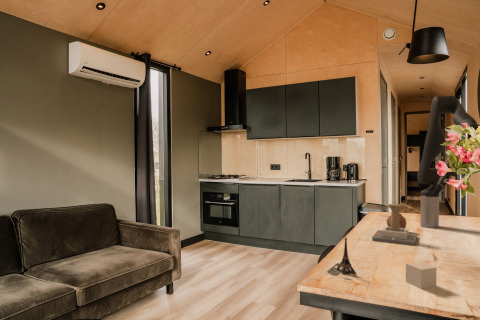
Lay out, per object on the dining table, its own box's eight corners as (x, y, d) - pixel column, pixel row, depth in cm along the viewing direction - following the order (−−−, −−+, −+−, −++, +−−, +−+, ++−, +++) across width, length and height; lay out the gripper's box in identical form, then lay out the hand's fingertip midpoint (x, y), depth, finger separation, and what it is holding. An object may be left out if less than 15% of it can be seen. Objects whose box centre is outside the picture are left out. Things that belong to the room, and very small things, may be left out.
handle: (400, 237, 159) (400, 206, 158) (386, 235, 163) (386, 204, 163) (403, 235, 162) (403, 204, 162) (389, 233, 166) (390, 203, 166)
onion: (402, 229, 183) (402, 211, 183) (409, 233, 173) (409, 214, 173) (384, 229, 184) (384, 211, 184) (390, 233, 174) (390, 214, 174)
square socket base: (377, 233, 175) (377, 224, 175) (416, 237, 166) (416, 228, 166) (372, 240, 159) (372, 231, 159) (414, 245, 150) (414, 235, 150)
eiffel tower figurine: (337, 264, 126) (337, 228, 126) (365, 269, 120) (365, 232, 120) (322, 276, 114) (322, 236, 113) (353, 282, 108) (353, 241, 108)
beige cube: (405, 282, 107) (405, 263, 107) (420, 280, 109) (420, 261, 109) (420, 289, 101) (420, 269, 101) (436, 287, 103) (436, 267, 103)
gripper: (447, 156, 161) (429, 183, 169) (445, 164, 150) (425, 193, 158) (463, 164, 158) (444, 191, 166) (462, 172, 147) (441, 201, 155)
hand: (435, 192), depth 162 cm, fingers open, 8 cm apart
